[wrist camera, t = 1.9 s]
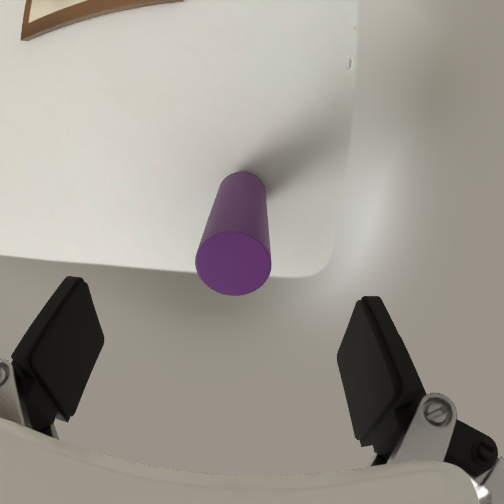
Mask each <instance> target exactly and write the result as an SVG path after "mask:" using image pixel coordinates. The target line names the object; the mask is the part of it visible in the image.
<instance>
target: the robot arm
mask: <svg viewBox="0 0 504 504" xmlns="http://www.w3.org/2000/svg"><path fill="white" fill-rule="evenodd" d="M103 344H104V335H103V332H102V329H101V326H100V323H99V320H98V317H97V314H96V311H95V308H94V305H93V301H92V298H91V294H90V291H89V287H88V284H87V283H86V282H84V280H83V279H82V278H80V277H71V276H68V277H66V278H65V279H64V281H63V282H62V283H61V284H60V286H59V287H58V289H57V290H56V291H55V292H54V294H53V295H52V296H51V298H50V299H49V300H48V302H47V303H46V305H45V306H44V307H43V309H42V310H41V312H40V313H39V315H38V316H37V317H36V319H35V320H34V322H33V323H32V324H31V326H30V327H29V329H28V330H27V332H26V334H25V335H24V336H23V338H22V340H21V341H20V343H19V344H18V346H17V348H16V349H15V351H14V352H13V354H12V356H11V357H12V359H13V361H12V363H10V362H9V361H8V360H6V359H2V358H0V504H504V459H503V458H502V457H500V458H499V459H498V458H497V456H498V450H497V446H496V444H495V442H494V441H493V439H491V438H490V437H489V436H487V435H485V434H483V433H481V432H480V431H478V430H475V429H474V428H472V427H470V426H468V425H467V424H465V423H463V422H461V421H459V420H457V411H456V407H455V406H454V404H453V402H452V401H451V400H450V399H449V398H448V397H446V396H445V395H443V394H440V393H430V394H427V395H426V392H425V390H424V387H423V385H422V383H421V381H420V378H419V376H418V374H417V371H416V369H415V367H414V365H413V362H412V360H411V358H410V355H409V353H408V351H407V349H406V347H405V345H404V343H403V341H402V338H401V337H400V335H399V334H398V332H397V330H396V327H395V326H394V323H393V321H392V319H391V317H390V315H389V313H388V311H387V309H386V307H385V306H384V304H383V302H382V300H381V298H380V297H378V296H364V297H362V299H361V300H358V301H357V302H356V305H355V308H354V311H353V313H352V316H351V319H350V322H349V324H348V327H347V330H346V332H345V335H344V337H343V340H342V343H341V345H340V348H339V350H338V353H337V362H338V366H339V371H340V375H341V379H342V383H343V386H344V391H345V395H346V399H347V403H348V408H349V412H350V417H351V421H352V426H353V430H354V435H355V438H356V439H357V440H360V443H361V447H364V446H370V445H373V447H374V452H375V454H374V456H373V457H372V459H371V461H370V462H369V464H368V465H367V467H366V468H359V469H352V470H345V471H337V472H327V473H317V474H305V475H289V476H288V475H286V476H239V475H221V474H208V473H198V472H189V471H182V470H175V469H168V468H162V467H157V466H151V465H146V464H141V463H137V462H132V461H128V460H123V459H119V458H115V457H111V456H108V455H104V454H101V453H97V452H94V451H90V450H87V449H84V448H81V447H78V446H75V445H72V444H69V443H66V442H64V441H61V440H59V437H58V435H57V432H56V429H55V426H54V423H53V422H54V420H55V418H56V419H59V420H62V421H65V422H68V421H69V419H70V416H73V415H74V414H75V412H76V409H77V406H78V404H79V401H80V399H81V396H82V394H83V391H84V389H85V386H86V384H87V381H88V379H89V377H90V374H91V372H92V369H93V367H94V365H95V362H96V360H97V358H98V356H99V353H100V351H101V349H102V347H103Z"/></svg>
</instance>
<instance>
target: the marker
mask: <svg viewBox="0 0 504 504" xmlns="http://www.w3.org/2000/svg"><path fill="white" fill-rule="evenodd" d="M195 265H196V270H197V273H198V275H199V277H200V278H201V280H202V281H203V282H204V283H205V284H206V285H207V286H208V287H210V288H211V289H212V290H214V291H216V292H218V293H221V294H225V295H233V296H238V295H245V294H248V293H251V292H253V291H255V290H256V289H258V288H260V287H261V286H262V285H263V284H264V283H265V282H266V280H267V279H268V277H269V275H270V271H271V252H270V240H269V228H268V217H267V205H266V194H265V188H264V185H263V184H262V182H261V181H260V179H259V178H257V177H256V176H255V175H253V174H250V173H247V172H236V173H233V174H231V175H229V176H227V177H226V178H225V179H224V180H223V182H222V183H221V185H220V188H219V190H218V193H217V196H216V199H215V201H214V204H213V207H212V210H211V213H210V216H209V218H208V221H207V224H206V227H205V230H204V233H203V236H202V239H201V242H200V245H199V248H198V251H197V254H196V259H195Z"/></svg>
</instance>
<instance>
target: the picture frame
mask: <svg viewBox="0 0 504 504" xmlns="http://www.w3.org/2000/svg"><path fill="white" fill-rule="evenodd" d="M182 1H183V0H26V5H25V11H24V17H23V24H22V33H21V41H28V40H31V39H33V38H35V37H38V36H40V35H43V34H45V33H48V32H51V31H53V30H56V29H59V28H62V27H64V26H67V25H70V24H73V23H77V22H80V21H83V20H87V19H90V18H94V17H97V16H101V15H105V14H109V13H114V12H118V11H123V10H127V9H133V8H138V7H144V6H150V5H157V4H164V3H172V2H182Z"/></svg>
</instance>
